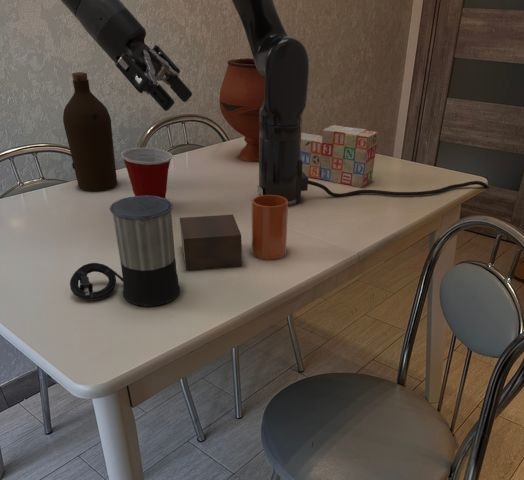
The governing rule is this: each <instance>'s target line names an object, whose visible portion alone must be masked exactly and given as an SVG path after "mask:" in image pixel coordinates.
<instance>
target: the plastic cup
mask: <svg viewBox="0 0 524 480" xmlns="http://www.w3.org/2000/svg"><path fill="white" fill-rule="evenodd" d="M120 156H121V158H122V160H123V162H124V165H125V169H126V170H127V175H128V178H129V182H130V184H131V188H132V192H133V194H134V196H145V195H148V196H158V197H161V198H165V199H167V198H166V195H167V189H168V177H169V168H170V164H171V161H172V160H173V154H172V152H170V151H167V150H166V149H162V148H156V147H132V148H131V147H130V148H127V149H124V150H122V151H121V153H120Z"/></svg>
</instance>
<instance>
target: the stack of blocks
mask: <svg viewBox="0 0 524 480" xmlns="http://www.w3.org/2000/svg"><path fill="white" fill-rule="evenodd" d="M378 136H379V132H378V131H374V130H368V129H366V128H359V127H350V126H344V125H342V126H341V125H334V124H333V125H330V126H328V127H326V128H324V129H322V135H319V134H311V133H306V132H301V151H300V159H301V160H302V162H303V164H302V172H304V174H305V175H306V176H307V177H308V178H313V179H317V180H324V181H329V182H333V183H338V184H343V185H347V186H352V187H357V188H364V187H365V186H367V185H368V184H369V183H371V182H372V181H373V173H374V166H375V159H376V151H377V146H378V145H377V143H378Z"/></svg>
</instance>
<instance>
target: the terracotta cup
mask: <svg viewBox="0 0 524 480" xmlns="http://www.w3.org/2000/svg"><path fill="white" fill-rule="evenodd" d="M288 207H289V206H288V200H287V199H286V198H284V197H282V196H278V195H261V196H258V195H257V196H255V197H253V198H252V199H251V254H252V255H253V256H254V257H256V258H258V259H260V260H267V261H268V260H277V259H278V260H279V259H281V258H283V257H285V256H286V254H287V240H288V238H287V237H288V214H289V213H288V212H289V208H288Z"/></svg>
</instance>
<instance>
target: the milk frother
mask: <svg viewBox="0 0 524 480" xmlns="http://www.w3.org/2000/svg"><path fill="white" fill-rule="evenodd" d="M173 206H174V205H173V202H172V201H170V200H169V199H167V198H166V199H165V198H161V197H158V196H148V195H145V196H135V195H134V196H133V195H132V196H129V197H124V198H120V199H119V200H116V201H114V202H113V203H111V205H110V206H109V211H110V212H111V214H112V218H113V224H114V231H115V236H116V243H117V249H118V255H119V260H120V266H121V274H122V275H119V273H117V272H116V271H115V270H114V269H113V268H111V267H109V266H108V265H105V264H103V263H98V262H90V263H87V264H83V265H82V266H81V267H79V268H78V269H77V270H76V271H75V272H74V273H73V274H72V276H71V278H70V281H69V286H70V290H71V292H72V294H73V295H74V296H76V297H77V298H79V299H82V300H98V299H103V298H105V297H108V296H109V295H110V294H111V293H112V292H113V291H114V290H115V289H116V285H117V278H118V279H119V280H120V281H121V282H122V285H123V291H122V296H123V298H124V300H125V301H127V302H128V303H130V304H132V305H136V306H140V307H155V306H160V305H161V306H162V305H164V304H168V303H169V302H172V301H174V300H175V299H176V298H177V297H178V296H179V295H180V293H181V287H180V285H179V277H178V273H177V271H178V270H177V260H176V251H175V250H176V249H175V239H174V238H175V237H174V228H173V215H172V210H173ZM94 272H95V273H100V274H102V275H105V276H106V277H107V279H108V282H107V285H106V286H105V287H104V288H102V289H100V290H96V291H94V289H93V286H94V285H93V283H92V282H90V279H89V276H88V275H89V274H91V273H94ZM79 283H80V284H79Z"/></svg>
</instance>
